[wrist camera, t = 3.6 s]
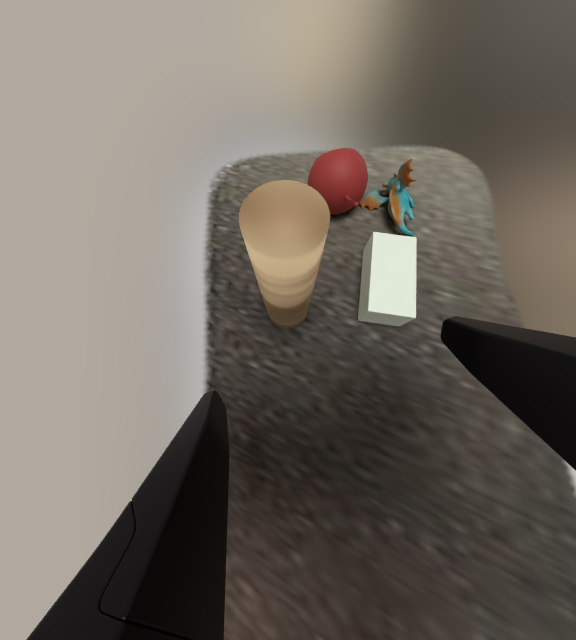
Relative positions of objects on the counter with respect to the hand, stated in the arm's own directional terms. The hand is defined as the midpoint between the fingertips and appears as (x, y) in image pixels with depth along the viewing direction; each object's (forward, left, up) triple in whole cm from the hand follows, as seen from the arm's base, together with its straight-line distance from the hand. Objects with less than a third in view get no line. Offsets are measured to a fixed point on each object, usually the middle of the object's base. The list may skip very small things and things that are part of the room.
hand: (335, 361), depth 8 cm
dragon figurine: (+19, -7, -13) cm, 24 cm away
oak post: (+6, +3, -13) cm, 14 cm away
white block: (+10, -6, -13) cm, 17 cm away
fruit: (+19, -1, -13) cm, 23 cm away
